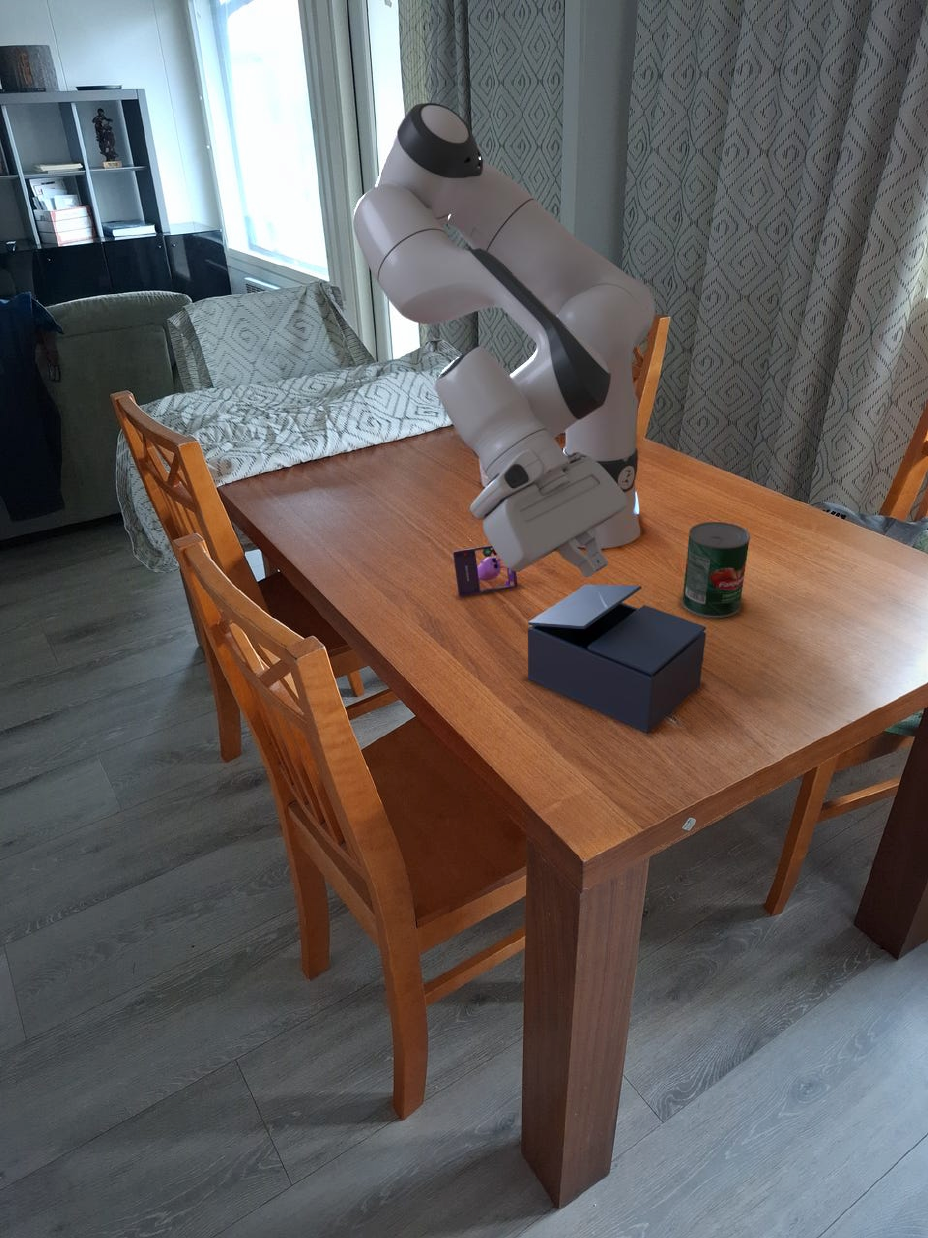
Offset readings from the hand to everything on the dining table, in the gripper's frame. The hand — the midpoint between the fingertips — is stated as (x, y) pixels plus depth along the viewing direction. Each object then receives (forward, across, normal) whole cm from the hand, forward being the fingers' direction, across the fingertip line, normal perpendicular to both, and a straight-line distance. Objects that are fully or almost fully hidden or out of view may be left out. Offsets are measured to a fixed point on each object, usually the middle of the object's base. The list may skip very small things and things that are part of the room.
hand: (597, 571), depth 95 cm
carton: (+12, 0, -8) cm, 15 cm away
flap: (+3, 0, -5) cm, 6 cm away
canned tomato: (+12, -24, -8) cm, 29 cm away
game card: (-8, -9, -29) cm, 31 cm away
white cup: (-26, -42, -46) cm, 68 cm away
